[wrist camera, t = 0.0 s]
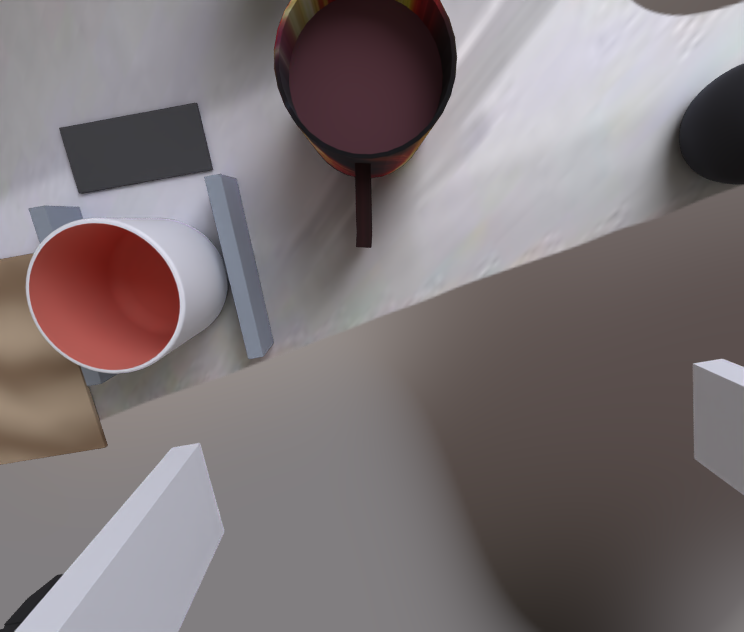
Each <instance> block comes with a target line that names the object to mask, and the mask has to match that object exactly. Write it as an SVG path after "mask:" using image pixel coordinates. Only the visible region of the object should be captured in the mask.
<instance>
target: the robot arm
mask: <svg viewBox="0 0 744 632" xmlns="http://www.w3.org/2000/svg"><path fill="white" fill-rule="evenodd" d="M693 406H694V407H693V410H694V459H696V460H697V461H698V462H700V463H701V464H702V465H704V466H705V467H706V468H708V469H709V470H710V471H712V472H714V474H716V475H717V476H719V477H720V478H721V479H723V480H724V481H725V482H727V483H728V484H729V485H731V486H732V487H734V488H735V489H736V490H738V491H739V492H740V493H741V494H743V495H744V367H742V366H740V365H737V364H735V363H732V362H729V361H727V360H724V359H718V360H712V361H706V362H700V363H693ZM223 534H224V528H223V524H222V520H221V517H220V513H219V510H218V506H217V503H216V499H215V496H214V492H213V488H212V485H211V481H210V477H209V474H208V471H207V467H206V463H205V459H204V456H203V452H202V449H201V445H200V443H197V444H192V445H186V446H179V447H173V448H172V449H171V450H170V451H169V452H168V453H167V454H166V455H165V457H164V458H163V459H162V460H161V461H160V463H159V464H158V465H157V466H156V467H155V468H154V469H153V471H152V472H151V473H150V474H149V475H148V476H147V478H146V479H145V480H144V481H143V482H142V483H141V485H140V486H139V487H138V488H137V489H136V490H135V492H134V493H133V494H132V495H131V496H130V497H129V499H128V500H127V501H126V502H125V503H124V505H123V506H122V507H121V508H120V509H119V510H118V511H117V513H116V514H115V515H114V516H113V517H112V518H111V520H110V521H109V522H108V523H107V524H106V525H105V527H104V528H103V529H102V530H101V531H100V532H99V534H98V535H97V536H96V537H95V538H94V539H93V541H92V542H91V543H90V544H89V545H88V546H87V548H86V549H85V550H84V551H83V552H82V553H81V555H80V556H79V557H78V558H77V559H76V560H75V561H74V563H73V564H72V565H71V566H70V567H69V569H68V570H67V571H66V572H65V573H64V574H61V575H57V576H55V577H54V578H53V579H52V580H50V581H49V582H48V583H47V584H45V585H44V586H43V587H41V588H40V589H39V590H38V591H36V592H35V593H34V594H33V595H31V596H30V597H29V598H28V599H27V600H26V601H25V602H24V603H23V604H22V605H21V606H20V608H19V609H18V610H17V611H16V612H15V613H14V614H13V615H12V616H11V618H10V619H9V620H8V621H7V622H6V623H5V624H4V625H5V626H4V629H1V630H0V632H178V631H179V629H180V627H181V625H182V623H183V620H184V618H185V616H186V614H187V612H188V609H189V607H190V605H191V603H192V601H193V598H194V596H195V594H196V592H197V590H198V588H199V586H200V583H201V581H202V579H203V577H204V575H205V573H206V570H207V568H208V566H209V564H210V562H211V560H212V557H213V555H214V553H215V551H216V549H217V547H218V544H219V542H220V540H221V538H222V536H223Z"/></svg>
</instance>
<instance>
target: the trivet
mask: <svg viewBox="0 0 744 632" xmlns="http://www.w3.org/2000/svg"><path fill="white" fill-rule="evenodd" d="M33 254H34V253H33ZM33 254H27V255H21V256H16V257H10V258H4V259H0V465H1V464H7V463H13V462H19V461H26V460H32V459H38V458H44V457H50V456H56V455H62V454H69V453H75V452H81V451H87V450H93V449H100V448H105V447H106V446H107V445H108V444H107V441H106V439H105V435H104V432H103V429H102V426H101V423H100V420H99V417H98V414H97V411H96V408H95V405H94V402H93V399H92V396H91V393H90V390H89V387H88V386H87V384H86V381H85V378H84V375H83V372H82V369H81V366H79V365H77V364H75V363H73V362H72V361H70V360H68V359H67V358H65V357H64V356H63V355H61V354H60V353H59V352H57V351H56V350H55V349H54V348H53V347H52V346H51V345H50V344H49V343H48V342H47V341H46V339H45V338H44V337H43V335H42V334H41V333H40V331H39V330H38V328H37V326H36V324H35V322H34V320H33V318H32V315H31V313H30V310H29V306H28V302H27V297H26V276H27V270H28V267H29V264H30V261H31V258H32V256H33Z"/></svg>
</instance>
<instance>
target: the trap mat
mask: <svg viewBox="0 0 744 632" xmlns="http://www.w3.org/2000/svg"><path fill="white" fill-rule="evenodd" d="M59 129H60V132H61V136H62V139H63V142H64V146H65V149H66V152H67V155H68V159H69V162H70V165H71V169H72V172H73V175H74V179H75V182H76V185H77V188H78V192H79V193H87V192H92V191H98V190H103V189H109V188H115V187H120V186H126V185H131V184H137V183H142V182H148V181H153V180H159V179H164V178H170V177H175V176H181V175H186V174H192V173H197V172H203V171H209V170H213V167H212V163H211V159H210V155H209V151H208V146H207V142H206V138H205V134H204V130H203V125H202V121H201V117H200V113H199V109H198V104H197V103H192V104H187V105H181V106H176V107H170V108H165V109H160V110H154V111H149V112H143V113H138V114H133V115H127V116H122V117H117V118H111V119H106V120H100V121H95V122H90V123H84V124H79V125H73V126H68V127H63V128H59Z"/></svg>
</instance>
